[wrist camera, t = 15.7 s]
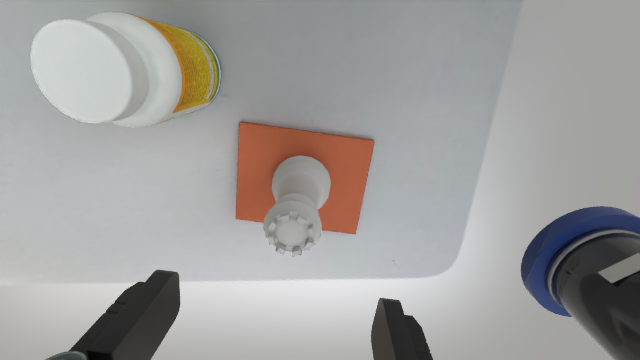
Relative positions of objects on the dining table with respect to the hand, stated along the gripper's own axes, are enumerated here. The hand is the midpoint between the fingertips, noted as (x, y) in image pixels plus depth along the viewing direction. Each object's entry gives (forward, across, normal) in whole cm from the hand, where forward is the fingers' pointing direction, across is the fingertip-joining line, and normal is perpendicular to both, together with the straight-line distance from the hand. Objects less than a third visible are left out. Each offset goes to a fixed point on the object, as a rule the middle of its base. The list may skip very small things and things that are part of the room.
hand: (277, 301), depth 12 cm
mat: (+13, 0, 0) cm, 13 cm away
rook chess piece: (+12, 0, 0) cm, 12 cm away
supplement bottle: (+13, +9, -7) cm, 17 cm away
